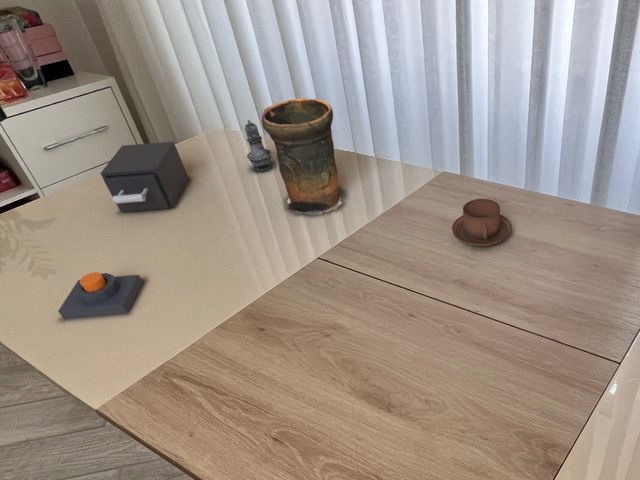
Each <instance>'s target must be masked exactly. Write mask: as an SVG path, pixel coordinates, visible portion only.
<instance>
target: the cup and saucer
mask: <svg viewBox="0 0 640 480" xmlns="http://www.w3.org/2000/svg"><path fill="white" fill-rule="evenodd" d="M451 231H452V234H453V235H454V237H455V238H456V239H457V240H458V241H460V242H461V243H463V244H466V245H468V246H473V247H490V246H494V245H496V244H499V243H501V242H503V241H504V240H506V239H507V238H508V237H509V236H510V234H511V232H512V223H511V221H510V220H509V219H508V218H507V217H505V216H504V215H502V214H501V206H500V204H499V203H498V202H497V201H495V200H493V199H489V198H475V199H472V200H469V201H467V202H465V204H464V205H463V207H462V215H461V216H459V217H457V218H456V219H455V221H454V222H453V223H452V227H451Z"/></svg>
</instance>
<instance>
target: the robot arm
mask: <svg viewBox="0 0 640 480" xmlns="http://www.w3.org/2000/svg"><path fill="white" fill-rule="evenodd" d="M7 118H8V116H7V114H6V112H5V111H4V109H3V107H2V106H1V105H0V123H2V122H4V121H5V120H6V119H7Z"/></svg>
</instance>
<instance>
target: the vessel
mask: <svg viewBox="0 0 640 480" xmlns="http://www.w3.org/2000/svg"><path fill="white" fill-rule="evenodd" d="M333 120H334V112H333V108H332V106H331V105H330V103H328V102H326V101H324V100H321V99H317V98H312V99H311V98H310V99H309V98H304V97H303V98H295V99H290V100H285V101H282V102H278V103H274V104H272V105H270V106H267V107H265V109H264V110H263V113H262V115H261V124H262V128H263V130H264V131H265V132H266V133H267V134H268V135H269V137H270V139H271V140H272V141H273V143H274V147H275V152H276V158H277V162H278V169H279V170H278V171H279V174H280V176H281V178H282V180H283V183H284V186H285V189H286V193H287V195H288V198H287V200H286V202H287V205H288V209H289V210H290V211H291V212H292V213H294V214H297V215H306V216H312V217H313V216H319V215H322V214H323V213H330V211H335V210H338V209H339V208H340V206H341V205H342V204H343V201H341V200H342V198H341V195H340V193H339V181H338V178H339V177H338V176H339V172H338V168H337V165H336V157H335V146H334V140H333V132H332V125H333Z"/></svg>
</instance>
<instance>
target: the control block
mask: <svg viewBox="0 0 640 480" xmlns="http://www.w3.org/2000/svg"><path fill="white" fill-rule="evenodd" d="M100 273H101V272H100ZM101 274H102V276H103V277H104V279H105V281H106V285H105V286H104V287H102V288H101V289H98V290H96V291H91V292H87V291H85V290H84V288H83V287H82V285H81V284H80V279H78V280H77V281H76V283H75V284H74V286H73V287H72V289H71V290H70V292H69V293H68V295H67V297H66V298H65V299H64V301H63V302H62V304H61V306H60V307H59V309H58V311H57V312H58V313H59V314H60V316H61V317H62V319H63V320H74V319H86V318H97V317H107V316H119V315H128V314H129V313H130V311H131V309H132V306H133V304H134V303H135V300H136V299H137V296H138V295H139V293H140V291H141V289H142V287H143V285H144V281H143V280H142V278H141V276H140V275H139V274H131V275H119V276H117V275H116V276H114V275H113V274H111V273H107V272H104V273H103V272H102V273H101Z"/></svg>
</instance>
